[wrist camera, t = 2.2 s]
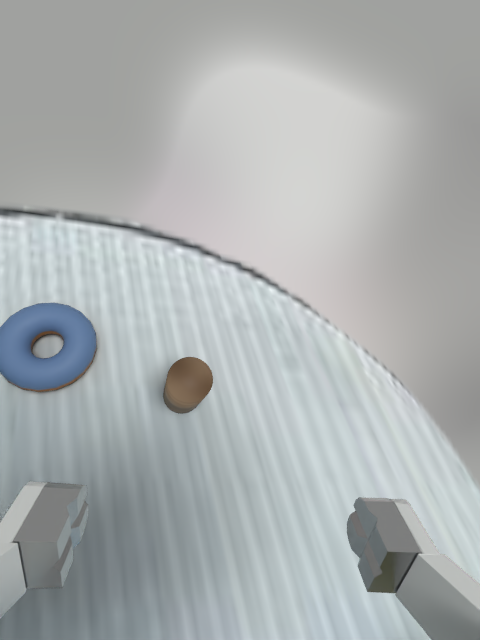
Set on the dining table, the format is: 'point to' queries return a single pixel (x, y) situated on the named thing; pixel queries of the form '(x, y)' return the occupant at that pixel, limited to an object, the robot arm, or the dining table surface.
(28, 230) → the dining table surface
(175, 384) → the brown wooden cylinder
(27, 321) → the doughnut
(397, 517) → the robot arm
